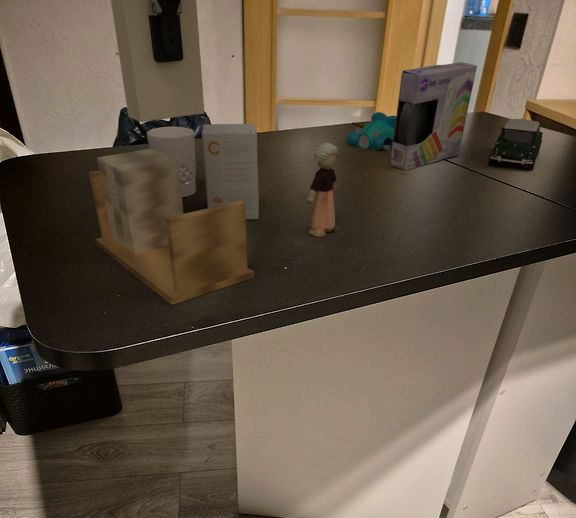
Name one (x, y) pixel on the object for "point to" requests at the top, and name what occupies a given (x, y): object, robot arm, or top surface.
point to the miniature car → (518, 142)
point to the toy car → (375, 133)
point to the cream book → (157, 64)
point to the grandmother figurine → (323, 191)
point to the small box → (231, 165)
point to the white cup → (177, 152)
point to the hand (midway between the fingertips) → (159, 57)
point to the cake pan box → (431, 113)
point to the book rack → (166, 228)
